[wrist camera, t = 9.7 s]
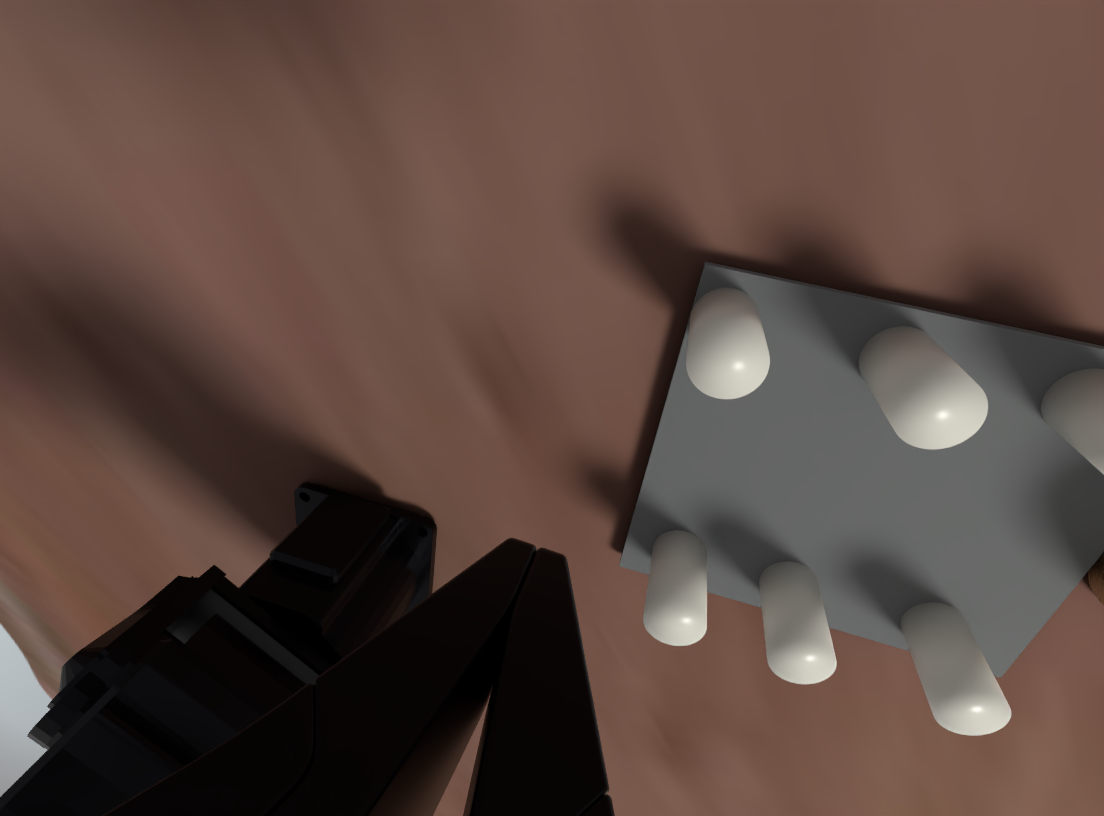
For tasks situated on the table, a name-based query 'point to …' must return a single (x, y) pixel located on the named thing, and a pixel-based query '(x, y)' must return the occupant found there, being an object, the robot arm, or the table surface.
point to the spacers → (792, 588)
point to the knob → (1097, 578)
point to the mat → (877, 473)
